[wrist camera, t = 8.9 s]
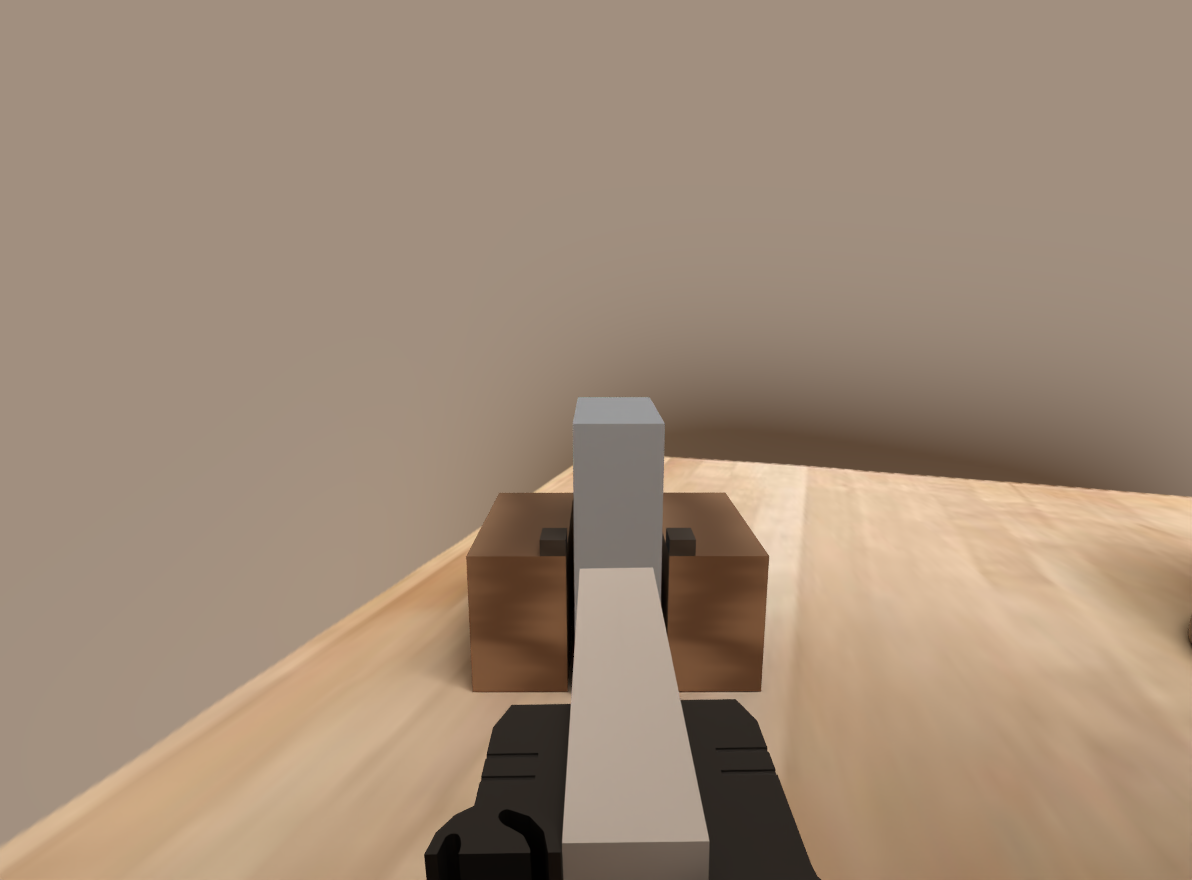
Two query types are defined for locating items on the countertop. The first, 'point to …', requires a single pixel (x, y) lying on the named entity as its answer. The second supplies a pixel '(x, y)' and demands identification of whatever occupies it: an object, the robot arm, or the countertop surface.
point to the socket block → (546, 595)
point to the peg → (617, 485)
